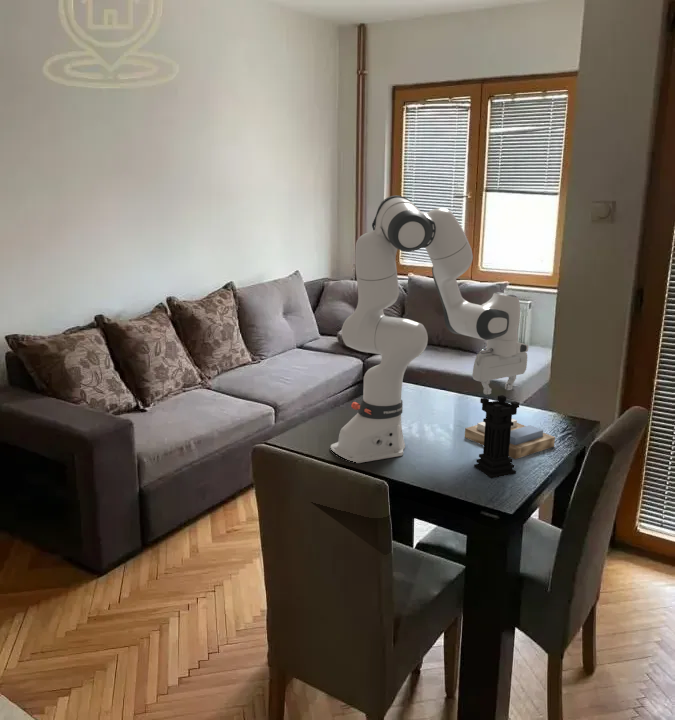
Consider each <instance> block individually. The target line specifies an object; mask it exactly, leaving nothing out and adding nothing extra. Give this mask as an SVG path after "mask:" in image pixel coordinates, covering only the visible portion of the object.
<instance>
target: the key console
mask: <svg viewBox="0 0 675 720" xmlns="http://www.w3.org/2000/svg"><path fill="white" fill-rule="evenodd" d="M525 426H526V425H524V424H523V423H522V424H521V423H519V422H517V427H514V428H511V430H515V429H518V428H522V427H525ZM484 435H485V433H484V432H482V431H479V430H477V424H475V425H472V426H468V427H465V429H464V438H466V439H468V440H470V441H472V442H475V443H477V444H478V445H481V446H483V447H484ZM555 442H556V436H553V435H551V434H548V433H546V432H543V437H540V438H537V439H534V440H531V441H527V442H524V443H521V444H518V445H513V444H511V443H510V446H509V457H510V458H511V459H513V460H517V459H520V458H525V457H527V456H529V455H532V454H535V453H538V452H542V451H545V450H547V449H550V448H554V447H555Z"/></svg>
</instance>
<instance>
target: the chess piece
mask: <svg viewBox="0 0 675 720" xmlns="http://www.w3.org/2000/svg"><path fill="white" fill-rule="evenodd" d="M479 403H480V404H481V410H482V411H483V412H485V418H482V419H483V421H482V422H485V435H484V446H483V452H482V453H479V454H478V458H476V460H475V461H476V463H475V464H474V465H473V468H475V469H476V470H478V471H479V472H480V473H482V474H483V475H485V476H487V477H489V478H490V479H497V478H501V477H507V476H511V475H516V474H517V471H516V470H515V464H513V461H514V459H513V458H511V457H509V446H510V433H511V426H513V422H511V420H512V419H513V418H512V417H513V416H515V415H517V414H518V413H517V411H518V408H520V402H518V401H510V403H509V402H507V396H506V395H498V396H497V400H494V401H493V400H492V401H490V399H489V398H487V397H481V398H480V399H479Z"/></svg>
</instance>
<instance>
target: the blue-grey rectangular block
mask: <svg viewBox="0 0 675 720" xmlns="http://www.w3.org/2000/svg"><path fill="white" fill-rule="evenodd" d="M524 426H525V427H522V428H518V429H515V430H511V433H510V443H511V444H513V445H518V444H521V443H524V442H527V441H531V440H534V439H537V438H540V437H543V433H544V429H541V428H538V427H536V426H534V425H524Z"/></svg>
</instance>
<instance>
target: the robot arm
mask: <svg viewBox="0 0 675 720" xmlns="http://www.w3.org/2000/svg"><path fill="white" fill-rule="evenodd" d="M371 227H372V229H373V231H368V232H366V233H363V234H362V235H360V236H359V237H358V239H357V240H356V243H355V251H354V254H355V255H354V263H355V264H354V266H355V267H354V268H355V275H356V276H355V277H356V284H357V286H356V287H357V297H358V299H357V305H356V308H355V310H354V312H353V313H352V314H349V316H347V317H346V319H345V320H344V322H343V324H342V326H341V338H342V341H343V343H344V345H345V346H346V347H349V348H351V349H353V350H356V351H359V352H363V353H367V354H369V353H371V354H375V355H381V360H380V363H379V364H377V365H375V366H372V367H370V368H368V369H367V371H366V372H365V373H364V376H363V390H362V391H363V392H362V394H363V398H362V399H361V401H360V403H358V402H356V401H353V402H352V403H351V404H350V405H351V408H352V409H353V410H356V411H357V413H356V414H355V415H354V416H353V417H352V418H351V419H350V420H349V421H348V422H347V423H346V424H344V426H343V427H341V429H340V431H339V435H338V439H337V440H338V441H337V442H335V443H334V442H333V443H332V444H330V448H331V449H330V451H331V450H332V451H333V452H335V453H336V454H338V455H339V456H341V457H343V458H345V459H347V460H350V461H353V462H352V463H354V462H356V463H355V464H361V463H365V462H372V461H373V462H374V461H378V460H384V459H390V458H395V457H401V456H402V457H403V455H404V450H405V448H406V443H405V439H404V433H403V425H402V414H403V409H404V408H403V406H404V405H403V403H404V402H403V399H402V392H403V389H402V388H403V379H404V375H405V373H406V370H407V369H408V366H409V365H410V363H412V361H414V360H415V359H417V358H418V357H420V356H421V355H422V353H424V351H425V350H426V348H427V346H428V341H429V337H428V332H427V328H426V327H425V326H424V324H423V323H421V322H417V321H415V320H412V319H409V318H403V317H397V316H396V317H395V316H389V315H388V316H387V315H385V313H384V310H385V309H387V308H390V307H392V306H393V305H394V304H395V303H396V302H397V300H398V298H399V295H400V288H399V280H398V270H397V268H398V267H397V261H396V258H397V257H396V256H397V253H398V250H399V251H402V252H407V253H408V252H416V251H418V250H421V249H424V248H425V250H426V252H427V254H428V257H429V259H430V261H431V263H432V268H431V272H432V278H433V281H434V286H435V288H436V291H437V294H438V296H439V299H440V300H439V301H440V303H441V305H442V309H443V318H444V323H445V326H446V328H447V330H448V331H449V332H450V333H452V334H455V335H460V336H466V337H471V338H474V339H477V340H478V339H479V340H486V349H480V350H479V351H478V353H477V354H476V355H475V356H476V357H475V358H474V362H473V368H472V374H471V375H472V379H473V380H475V381H477V382H481V383H480V384H481V385H482V387H483V391H482V392H483V394H484V395H490V394H492V388H491V387H490V383H491V381H493V380H497V379H498V380H499V379H504V378H508V379H507V382H506V383H504V389H505V390H506V391H510V390H513V387H514V383H515V381H516V380H517V376H519V375H524V374H525V373H526V370H527V366H528V353H527V352H528V351H529V345H528V344H526V343H522V342H520V341H519V340H518V339H519V337H518V336H519V335H518V328H519V326H520V321H521V320H520V318H521V303H520V299H519V297H518V296H517V295H514V294H511V293H505V292H499V291H497V292H493V294H492V297H491V298H490V299H489V300H487V301H486V302H484V303H482V304H477V303H474V302H473V303H472V302H469V301H468V300H466V299H465V298H463V295H462V293H461V290H460V287H459V284H458V281H457V279H458V278H459V277H461V276H462V275H464V274H465V273H466V272H467V271H468V270H469V269H470V267H471V266H472V263H473V259H474V255H473V250H472V249H473V248H472V247H471V245H470V243H469V242H470V241H469V240H468V237H467V236H466V234H465V231H464V230H463V228H462V226H461V224H460V223H459V221H458V220H457V218H456V216H455V215H454V214H453V212H452V211H450V210H449V209H448V208H444V207H438V208H437V207H436V208H434V209H432V210H430V211H428V212H422V211H421V210H420V208H418V207H417V205H416V204H415V203H413V202H412V201H411V200H410V199H409V198H407V197H406V196H402V195H391V196H388V197H386V198H384V199H383V200H382V201H381V202H380V204H379V206H378V208H377V210H376V214H375V217H374V219H373V221H372V224H371ZM332 451H331V452H332ZM333 452H332V453H333ZM347 460H346V461H347ZM350 461H349V462H350Z"/></svg>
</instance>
